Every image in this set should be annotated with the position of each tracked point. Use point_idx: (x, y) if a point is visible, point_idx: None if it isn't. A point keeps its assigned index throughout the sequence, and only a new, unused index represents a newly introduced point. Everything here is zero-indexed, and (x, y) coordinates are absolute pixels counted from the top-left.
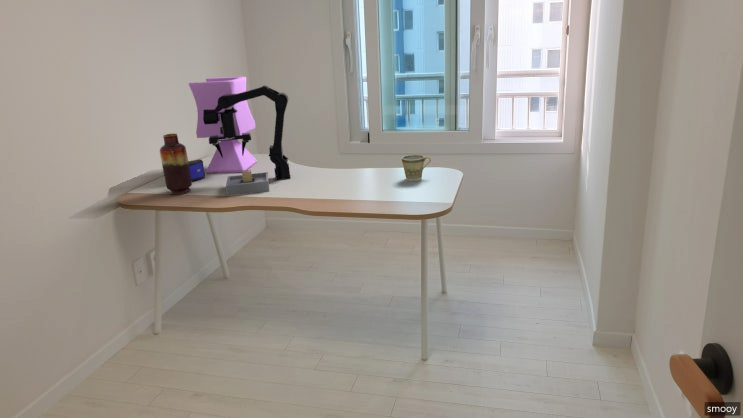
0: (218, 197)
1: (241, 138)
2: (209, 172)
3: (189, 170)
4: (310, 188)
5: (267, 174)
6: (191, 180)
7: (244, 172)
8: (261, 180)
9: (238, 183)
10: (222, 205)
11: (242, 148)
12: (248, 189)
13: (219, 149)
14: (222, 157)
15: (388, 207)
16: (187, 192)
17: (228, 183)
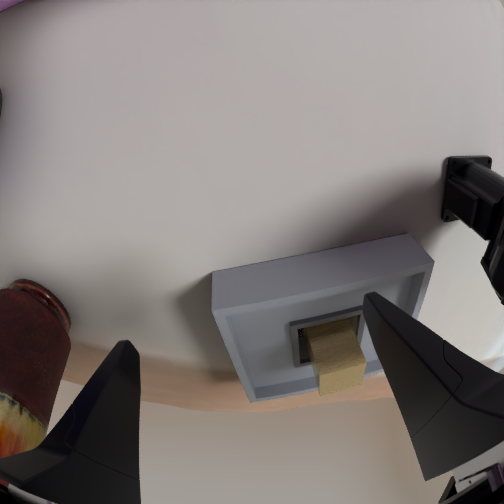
0: (219, 378)
1: (460, 499)
2: (7, 6)
3: (41, 381)
4: (471, 316)
5: (423, 298)
6: (50, 331)
7: (331, 392)
8: None
9: (286, 351)
10: (254, 411)
11: (402, 404)
12: None
13: (129, 461)
14: (136, 357)
15: None
16: (70, 326)
17: (248, 378)
